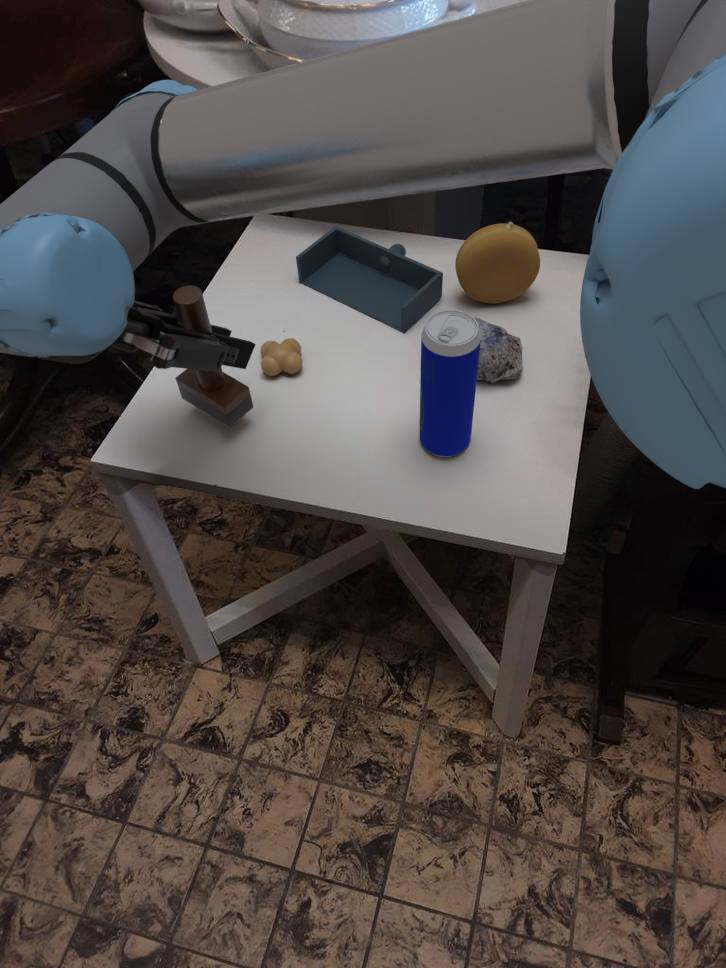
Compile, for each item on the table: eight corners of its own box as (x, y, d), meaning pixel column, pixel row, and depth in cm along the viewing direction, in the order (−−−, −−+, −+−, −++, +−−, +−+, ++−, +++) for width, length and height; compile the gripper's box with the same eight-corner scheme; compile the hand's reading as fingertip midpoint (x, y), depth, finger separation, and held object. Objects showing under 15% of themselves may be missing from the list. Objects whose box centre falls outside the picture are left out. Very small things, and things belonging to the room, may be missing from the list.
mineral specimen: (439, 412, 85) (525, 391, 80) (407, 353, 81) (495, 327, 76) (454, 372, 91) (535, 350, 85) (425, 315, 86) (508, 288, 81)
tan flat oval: (530, 284, 92) (542, 210, 84) (536, 305, 90) (549, 231, 82) (452, 291, 92) (456, 218, 84) (456, 311, 90) (461, 238, 82)
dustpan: (404, 333, 88) (404, 307, 85) (299, 282, 94) (295, 256, 92) (456, 284, 93) (457, 259, 90) (352, 239, 99) (350, 213, 96)
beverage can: (434, 414, 80) (439, 300, 68) (479, 433, 79) (492, 319, 67) (410, 448, 78) (410, 335, 66) (455, 467, 76) (465, 355, 64)
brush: (253, 407, 79) (229, 298, 68) (230, 428, 77) (200, 320, 66) (205, 378, 82) (174, 270, 71) (181, 398, 80) (146, 290, 69)
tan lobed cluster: (316, 360, 86) (314, 344, 84) (284, 389, 84) (281, 373, 82) (280, 341, 88) (277, 325, 86) (248, 368, 86) (244, 352, 84)
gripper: (-35, 314, 61) (169, 351, 82) (93, 399, 55) (279, 416, 76) (-7, 223, 59) (194, 284, 80) (128, 300, 53) (309, 345, 74)
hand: (235, 348), depth 78 cm, fingers closed on brush, 3 cm apart
